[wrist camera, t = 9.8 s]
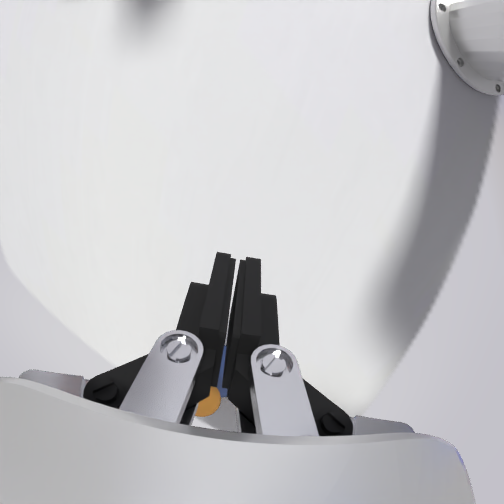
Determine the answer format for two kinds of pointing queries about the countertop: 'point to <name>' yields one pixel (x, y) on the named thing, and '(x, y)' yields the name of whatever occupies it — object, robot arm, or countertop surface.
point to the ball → (209, 403)
